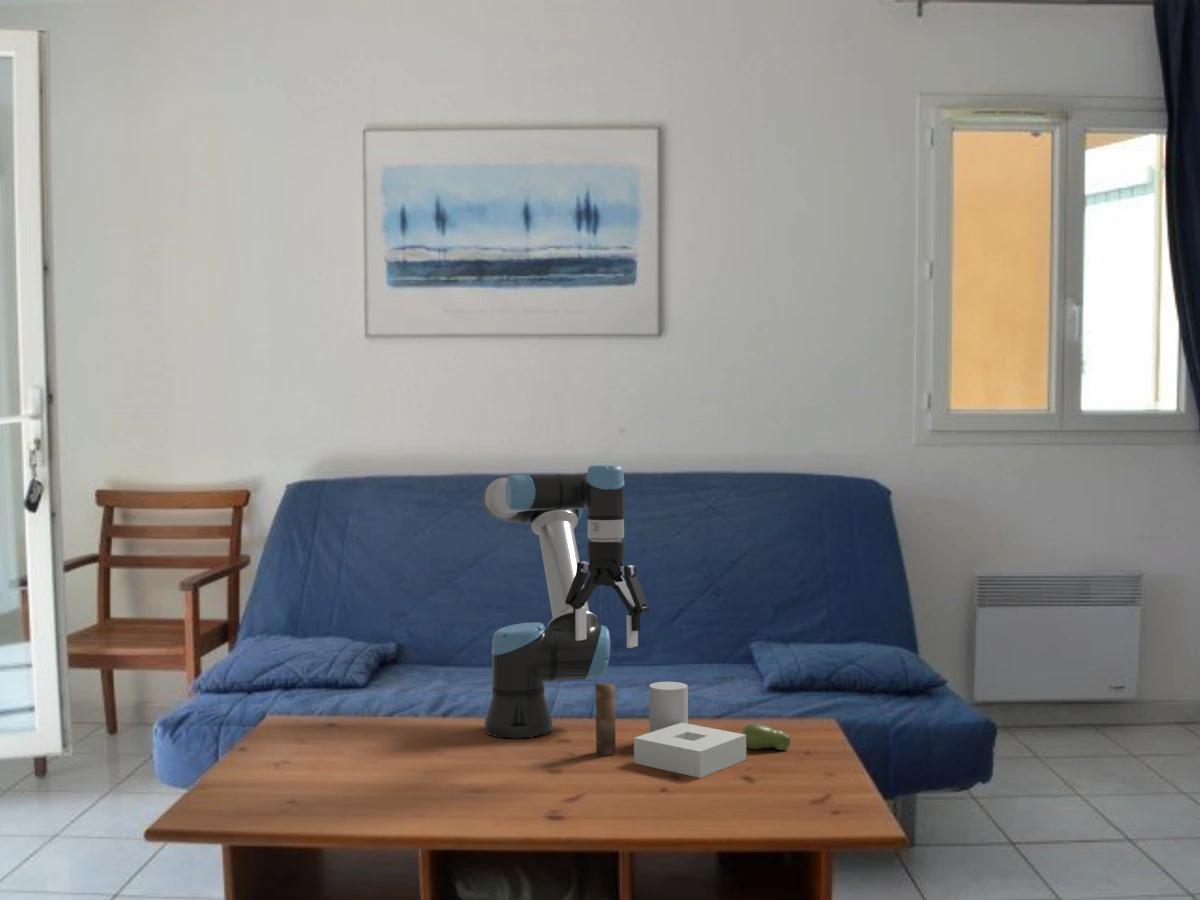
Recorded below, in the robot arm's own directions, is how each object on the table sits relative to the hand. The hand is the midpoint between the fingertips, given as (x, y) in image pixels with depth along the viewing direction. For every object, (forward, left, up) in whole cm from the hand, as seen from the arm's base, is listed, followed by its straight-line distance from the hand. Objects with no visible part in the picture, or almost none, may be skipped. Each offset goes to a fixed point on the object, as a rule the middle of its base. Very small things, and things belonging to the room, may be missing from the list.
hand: (606, 643), depth 225 cm
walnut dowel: (0, 0, -23) cm, 23 cm away
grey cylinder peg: (+5, +15, -23) cm, 28 cm away
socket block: (+17, +6, -23) cm, 29 cm away
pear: (+24, +23, -23) cm, 40 cm away
